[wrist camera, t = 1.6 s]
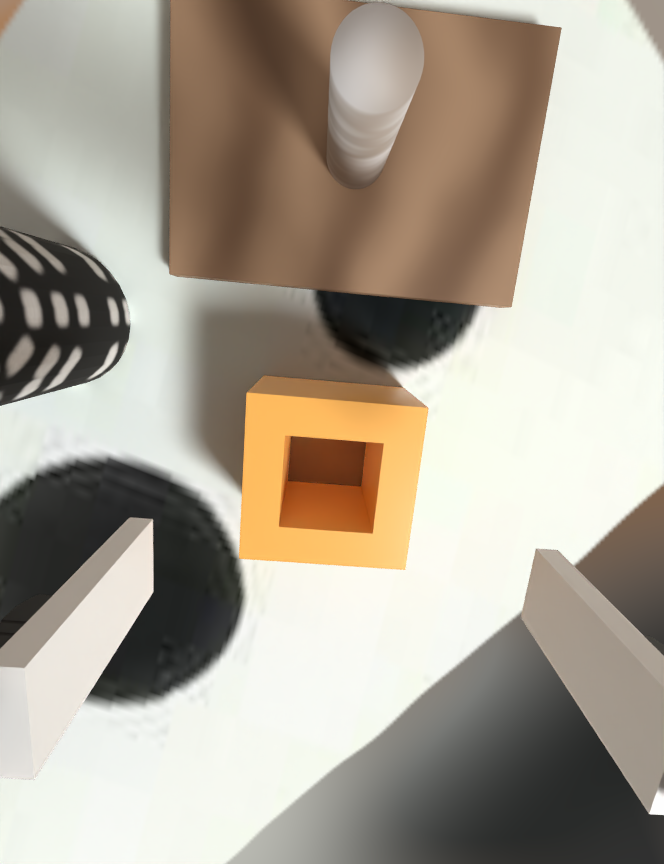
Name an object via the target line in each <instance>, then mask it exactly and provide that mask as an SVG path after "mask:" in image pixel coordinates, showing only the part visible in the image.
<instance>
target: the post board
mask: <svg viewBox="0 0 664 864" xmlns="http://www.w3.org/2000/svg"><path fill="white" fill-rule="evenodd" d="M560 34H561V28H560V27H552V26H544V25H537V24H529V23H521V22H513V21H505V20H497V19H489V18H481V17H473V16H465V15H458V14H450V13H442V12H434V11H426V10H418V9H410V8H402V7H396V6H394V5H391V4H388V3H383V2H373V3H363V2H355V1H347V0H170V243H169V274H171V275H174V276H177V277H187V278H198V279H208V280H219V281H229V282H239V283H250V284H260V285H271V286H281V287H291V288H302V289H312V290H322V291H333V292H343V293H354V294H364V295H374V296H385V297H395V298H406V299H416V300H426V301H437V302H447V303H458V304H468V305H478V306H489V307H499V308H505V307H512V301H513V296H514V290H515V285H516V279H517V274H518V268H519V262H520V257H521V251H522V246H523V240H524V234H525V229H526V223H527V218H528V212H529V207H530V201H531V195H532V190H533V184H534V179H535V173H536V168H537V162H538V156H539V151H540V145H541V140H542V134H543V128H544V123H545V117H546V112H547V106H548V101H549V95H550V89H551V84H552V78H553V73H554V67H555V62H556V56H557V50H558V45H559V39H560Z"/></svg>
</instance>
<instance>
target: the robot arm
mask: <svg viewBox="0 0 664 864" xmlns="http://www.w3.org/2000/svg"><path fill="white" fill-rule="evenodd" d="M152 593H153V519H142V518H129V519H128V520H127V521H126V522H125V523H124V524H123V525H122V526H121V527H120V528H119V529H118V530H117V531H116V532H115V533H114V534H113V535H112V536H111V537H110V538H109V539H108V540H107V541H106V542H105V543H104V544H103V545H102V546H101V547H100V548H99V549H98V550H97V551H96V552H95V553H94V554H93V555H92V556H91V557H90V558H89V559H88V560H87V561H86V562H85V563H84V564H83V565H82V566H81V567H80V568H79V569H78V571H77V572H76V573H75V574H74V575H73V576H72V577H71V578H70V579H69V580H68V581H67V582H66V583H65V584H64V585H63V586H62V587H61V588H60V589H59V590H58V591H57V592H56V593H55V594H54V595H53V596H52V595H36V596H34V597H32V598H30V599H28V600H27V601H25V602H23V603H21V604H19V605H18V606H16V607H15V608H14V609H13V610H12V611H11V612H10V613H9V614H8V615H6V616H5V617H4V618H3V619H2V621H1V623H0V778H11V779H29V780H35V778H36V777H37V775H38V773H39V772H40V770H41V769H42V767H43V765H44V764H45V762H46V761H47V759H48V758H49V756H50V754H51V753H52V751H53V750H54V748H55V746H56V745H57V743H58V742H59V740H60V739H61V737H62V735H63V734H64V732H65V731H66V729H67V727H68V726H69V724H70V723H71V721H72V720H73V718H74V716H75V715H76V713H77V712H78V710H79V708H80V707H81V705H82V704H83V702H84V701H85V699H86V697H87V696H88V694H89V693H90V691H91V689H92V688H93V686H94V685H95V683H96V682H97V680H98V678H99V677H100V675H101V674H102V672H103V670H104V669H105V667H106V666H107V664H108V663H109V661H110V659H111V658H112V656H113V655H114V653H115V652H116V650H117V648H118V647H119V645H120V644H121V642H122V640H123V639H124V637H125V636H126V634H127V633H128V631H129V629H130V628H131V626H132V625H133V623H134V621H135V620H136V618H137V617H138V615H139V614H140V612H141V610H142V609H143V607H144V606H145V604H146V602H147V601H148V599H149V598H150V596H151V595H152ZM521 619H522V620H523V622H524V623H525V625H526V626H527V628H528V629H529V631H530V632H531V634H532V635H533V637H534V639H535V640H536V642H537V643H538V644H539V646H540V648H541V649H542V651H543V652H544V654H545V655H546V657H547V658H548V660H549V662H550V663H551V664H552V666H553V667H554V669H555V671H556V672H557V674H558V675H559V677H560V678H561V680H562V681H563V683H564V684H565V686H566V687H567V689H568V690H569V692H570V694H571V695H572V697H573V698H574V700H575V701H576V703H577V704H578V706H579V707H580V709H581V710H582V712H583V714H584V715H585V717H586V718H587V720H588V721H589V723H590V724H591V726H592V727H593V729H594V730H595V732H596V733H597V735H598V736H599V738H600V739H601V741H602V743H603V744H604V746H605V747H606V749H607V750H608V752H609V753H610V755H611V756H612V758H613V759H614V761H615V762H616V764H617V765H618V767H619V769H620V770H621V772H622V773H623V775H624V776H625V778H626V779H627V781H628V782H629V784H630V785H631V787H632V788H633V790H634V791H635V793H636V795H637V796H638V798H639V799H640V801H641V802H642V804H643V805H644V807H645V808H646V810H647V811H648V813H649V814H659V815H664V645H663V644H661V643H660V642H658V641H657V640H655V639H654V638H652V637H650V636H643V635H642V634H641V633H640V632H639V631H638V630H637V629H636V628H635V627H634V626H633V625H632V624H631V623H630V622H629V621H628V620H627V619H626V618H625V617H624V616H623V615H622V614H621V613H620V612H619V611H618V610H617V609H616V608H615V607H614V606H613V605H612V604H611V603H610V602H609V601H608V600H607V599H606V598H605V597H604V596H603V595H602V594H601V593H600V592H599V591H598V590H597V589H596V588H595V587H594V586H593V585H592V584H591V583H590V582H589V581H588V580H587V579H586V578H585V577H584V576H583V575H582V574H581V573H580V572H579V571H578V570H577V569H576V568H575V567H574V566H573V565H572V564H571V563H570V562H569V561H568V560H567V559H566V558H565V557H564V556H563V555H562V554H561V553H560V552H559V551H558V550H548V549H536V551H535V556H534V560H533V565H532V569H531V574H530V578H529V583H528V587H527V592H526V596H525V601H524V606H523V610H522V615H521Z"/></svg>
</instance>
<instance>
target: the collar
mask: <svg viewBox="0 0 664 864" xmlns="http://www.w3.org/2000/svg"><path fill="white" fill-rule="evenodd" d="M427 415H428V407H427V406H425V405H424V404H423V403H422V402H421V401H419V400H418V399H417V398H416V397H414V396H413V395H412V394H411V393H409V392H408V391H407V390H406V389H405V388H403V387H392V386H381V385H369V384H358V383H346V382H335V381H323V380H312V379H300V378H289V377H277V376H266V375H264V376H263V377H262V378H261V379H260V380H259V381H258V382H257V383H256V384H255V385H254V386H253V387H252V388H251V389H250V390H249V391H248V392H247V394H246V416H245V438H244V460H243V482H242V504H241V526H240V548H239V559H252V560H267V561H282V562H297V563H312V564H326V565H341V566H356V567H371V568H385V569H400V570H405V567H406V560H407V553H408V546H409V540H410V533H411V526H412V519H413V512H414V505H415V498H416V491H417V484H418V477H419V470H420V463H421V456H422V449H423V442H424V436H425V429H426V422H427ZM291 436H298V437H311V438H323V439H336V440H348V441H360V442H366V448H365V457H364V466H363V475H362V484H361V486H349V485H335V484H322V483H309V482H296V481H288V473H289V459H290V445H291Z"/></svg>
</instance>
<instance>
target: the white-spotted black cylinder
mask: <svg viewBox="0 0 664 864" xmlns="http://www.w3.org/2000/svg"><path fill="white" fill-rule="evenodd" d="M129 332H130V316H129V309H128V306H127V302H126V298H125V296H124V294H123V292H122V290H121V288H120V286H119V284H118V283H117V281H116V280H115V278H114V277H113V276H112V274H111V273H110V272H109V271H108V270H107V269H106V268H105V267H104V266H103V265H102V264H101V263H100V262H98V261H97V260H96V259H94V258H93V257H91V256H90V255H88V254H86V253H84V252H82V251H80V250H77V249H75V248H72V247H69V246H66V245H62V244H59V243H55V242H52V241H48V240H45V239H42V238H38V237H35V236H31V235H28V234H24V233H21V232H17V231H14V230H11V229H7V228H4V227H0V406H1V405H5V404H9V403H12V402H16V401H20V400H24V399H27V398H31V397H35V396H38V395H42V394H46V393H50V392H53V391H57V390H61V389H64V388H68V387H72V386H76V385H79V384H83V383H87V382H90V381H92V380H95V379H97V378H100V377H101V376H103V375H104V374H106V373H107V372H108V371H110V370H111V369H112V368H113V367H114V366H115V365H116V363H117V362H118V361H119V359H120V358H121V356H122V354H123V353H124V351H125V348H126V345H127V342H128V339H129Z"/></svg>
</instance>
